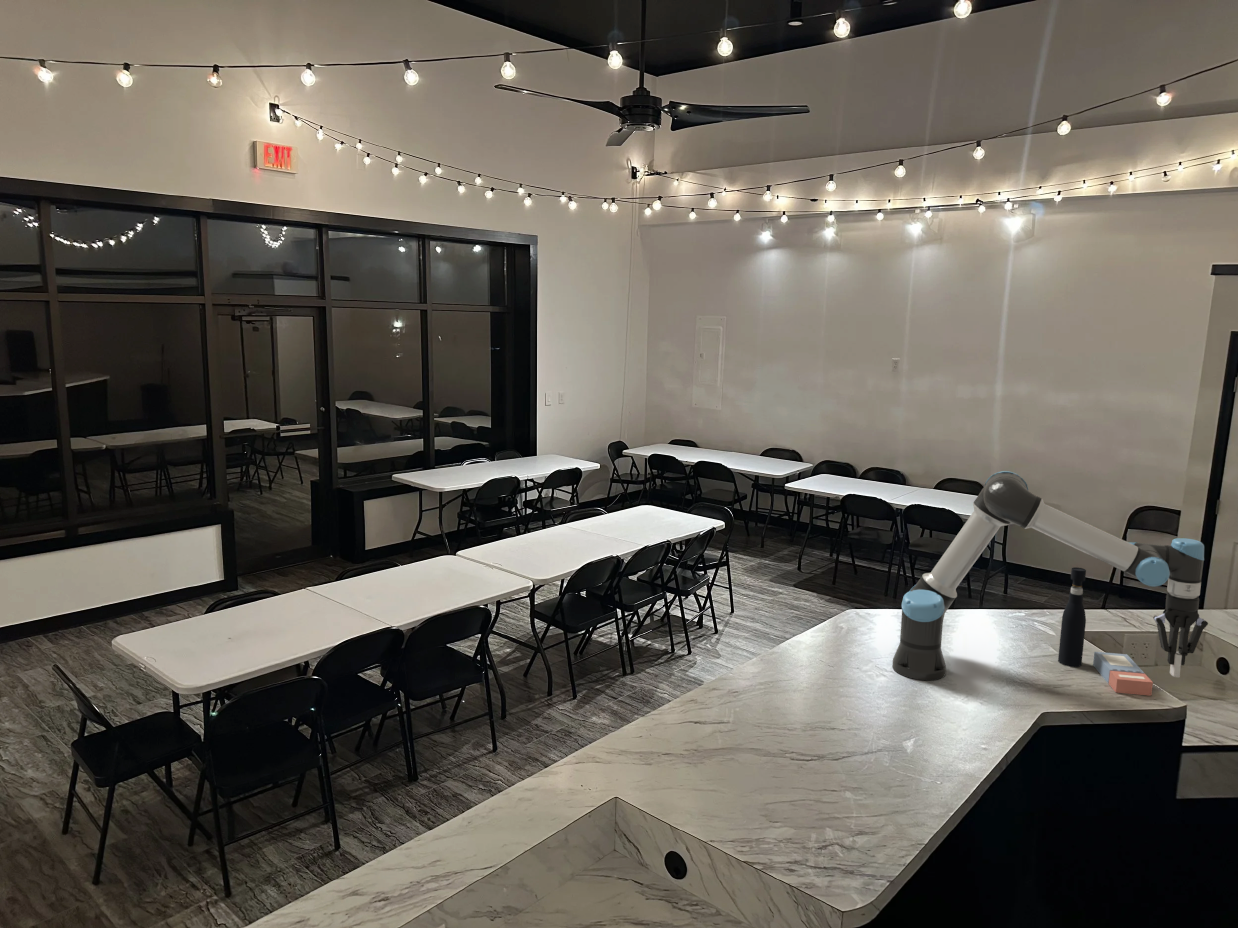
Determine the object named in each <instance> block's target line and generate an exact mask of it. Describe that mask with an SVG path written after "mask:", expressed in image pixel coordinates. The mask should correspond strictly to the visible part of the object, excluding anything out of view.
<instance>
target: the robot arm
mask: <svg viewBox="0 0 1238 928" xmlns="http://www.w3.org/2000/svg"><path fill="white" fill-rule="evenodd" d="M984 483H985V484H984V486H983V488H982V489H981V491H980V492H979V494H978V495H977V497H976V498H975V499H974V501H973V502H972V505H973V509H974V510H973V512H972V513H971V515H970V516H969V517H968V518H967V520H966V522H965V523H964V524H963V526H962V528H961V529H960V531H959V532H958V533H957V535H955V537H954V539H953V540H952V542H951V543H950V545H949V546H948V547H947V549H946V550H945V552H944V553H942V556H941V557H940V559H938V562H937V563H936V564H935V565H934V567H933V568H932V570H931V572H926V573H923V574H922V576H921V577H920V579H918V581H917V583H916V584H914V586H912V587H911V588H910V590H909V591H907V592H906V593H904V595H903V596H902V597H903V598H902V602H901V620H900V635H899V638H900V640H899V644H898V647H897V649H896V652H895V654H894V656H893V658H892V664H891V665H892V666H891V667H892V669H893V670H894V671H895V672H896V673H898V674H899V675H901V676H902V677H903V676H904V677H907V678H910V679H914V680H922V681H935V680H939V679H942V678H944V677H945V676H946V672H947V667H946V661H945V658H944V654H943V651H942V641H943V640H942V639H943V625H944V619H945V614H946V612H947V611H948V609H949V608H950V606H951V605H952V604H953V602H954V601H955V600H956V598H957V597H958V593H957V588H958V587H959V585H960V583H962V581H963V579H964V578H965V577H966V575H967V574H968V573H969V572H970V570H971V569H972V568H973V565H974V564H975V563H976V561H977V560H978V559H979V558H980V556H981V554H982V553H983V552H984V550H985V549H986V548H987V546H988V545H989V543H990V542H991V541H992V539H993V538H994V536H995V535H996V533H998V531H999V529H1000V528H1001V527H1004V526H1008V525H1010V524H1013V525H1016V526H1018V527H1020V528H1022V529H1024V530H1026V529H1027V530H1028V529H1033V530H1035V531H1037V532H1040V533H1042V534H1044V535H1046V536H1047V537H1050V538H1052V539H1054V540H1056V541H1059V542H1061V543H1063V544H1065V545H1067V546H1069V547H1072V548H1073V549H1075V550H1078V551H1080V552H1082V553H1084V554H1086V555H1089V556H1091V557H1093V558H1094V559H1097V560H1099V561H1101V562H1104V563H1105V564H1108V565H1110V566H1111V567H1113V568H1116V569H1118V570H1120V571H1122V572H1125V573H1126V574H1129V575H1131V576H1132V577H1134V578H1136V579H1137V580H1138V581H1139V582H1140V583H1142V584H1143V585H1146V586H1147V587H1153V588H1154V587H1160V586H1162V585H1165V583H1166V582H1167V587H1166V591H1167V593H1166V595H1165V598H1166V599H1165V608H1164V610H1163V611H1162V614H1160V615H1154V616H1153V617H1152V618H1153V620H1154V622H1155V623H1156V627H1157V632H1158V637H1159V643H1160V648H1161V649H1162V650H1163V651H1164V652H1166V653H1167V659H1166V660H1167V663H1168V664H1169V665H1170V666H1169V667H1170V668H1169V674H1170V675H1171V676H1172V677H1173V678H1180V677H1181V669H1182V666H1184V665H1185V663H1186V662H1185V661H1186V657H1187V656H1188V654H1194V653H1195V651H1196V648H1197V645H1198V643H1199V640H1200V638H1201V636H1202V633H1203V631H1204V629H1206V627H1207V626H1208V625H1209V622H1208V621H1207V620H1205V619H1204V618H1202V617H1200V614H1199V607H1200V605H1199V604H1200V598H1199V596H1200V595H1201V586H1202V578H1203V577H1202V576H1203V568H1204V561H1205V544H1204V543H1203V542H1202V541H1199V540H1197V539H1193V538H1185V537H1184V538H1183V537H1182V538H1179V537H1177V538H1174V539H1172V540H1171V543H1170V544H1168V545H1166V544H1153V543H1143V542H1136V541H1134V542H1131V541H1129V542H1128V541H1126V540H1124V539H1121V538H1119V537H1117V536H1115V535H1114V534H1111V533H1109V532H1106V531H1105V530H1103V529H1100V528H1098V527H1096V526H1094V525H1091V524H1090V523H1088V522H1085V521H1083V520H1080V519H1079V518H1076V517H1075V516H1072V515H1070V514H1068V513H1065V512H1063V511H1061V510H1060V509H1057V508H1055V507H1053V506H1050V505H1048V504H1046V503H1045V502H1044V499H1043V498H1042V497H1040V496H1038V495H1036V494H1033V492H1031V491H1029V486H1028V484H1027V482H1026V481H1025V479H1024V478H1023V477H1021V475H1019V474H1017V473H1016V472H1012V471H1008V470H1002V471H997V472H994V473H993V474H991V476H989V477H988V478H987V480H986V481H985V482H984ZM1166 621H1167V622H1168V624H1169V626H1168V627H1169V635H1168V636H1167V630H1166V626H1165V623H1166ZM1193 625H1194V626H1193ZM1191 626H1193V628H1192V631H1191ZM1189 634H1190V635H1189ZM1178 637H1179V639H1178ZM1177 648H1178V649H1177Z"/></svg>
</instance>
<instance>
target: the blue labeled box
mask: <svg viewBox="0 0 1238 928" xmlns="http://www.w3.org/2000/svg"><path fill="white" fill-rule="evenodd" d="M1092 666H1093V667H1094V668H1095V669H1096V671H1097V672H1098V673H1099V674H1100V676H1101V677H1102V678H1103V679H1104V681H1105V682H1106V683H1107V684H1108V685H1109V676H1110V671H1120V672H1131V673H1142V674H1145V672H1144V671H1143V669H1141V668H1140V666H1139V665H1138V664H1137V663H1136V662H1135V661H1134V660H1133V659H1132V658H1131V657H1130V656H1129V655H1128V654H1127V653H1125V654H1124V653H1116V652H1115V653H1114V652H1104V651H1103V652H1102V651H1094V652H1093V661H1092Z"/></svg>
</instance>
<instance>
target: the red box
mask: <svg viewBox="0 0 1238 928" xmlns="http://www.w3.org/2000/svg"><path fill="white" fill-rule="evenodd" d="M1108 685H1109V686H1110V687H1111V688H1112V690H1113V691H1114V692H1115V693H1119V694H1127V695H1138V696H1140V695H1141V696H1147V697H1148V696H1150V697H1151V696H1152V693H1153V685H1154V682H1153V681H1152V679H1151V678H1150V677H1149V676H1147V674H1146V673H1144V674H1142V673H1131V672H1120V671H1110V676H1109V684H1108Z"/></svg>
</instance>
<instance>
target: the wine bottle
mask: <svg viewBox="0 0 1238 928" xmlns="http://www.w3.org/2000/svg"><path fill="white" fill-rule="evenodd" d="M1086 573H1087V569H1085V568H1082V567H1078V566H1077V567H1071V572H1070V580H1072V586H1071V587H1070V592H1069V593H1068V594H1069V595H1068V602H1067V603H1066V605H1065V607H1064V609H1063V612H1062V617H1061V625H1060V626H1061V627H1060V637H1059V638H1060V639H1059V646H1058V647H1059V648H1058V659H1057V662H1058V663H1059V664H1061V665H1063V666H1066V667H1070V668H1073V667H1074V668H1078V667H1081V666H1082V663H1083V654H1084V653H1083V652H1084V645H1085V642H1084V641H1085V634H1086V633H1085V632H1086V623H1087V620H1086V610H1085V607H1084V594H1083V593H1084V590H1083V582H1085V581H1086V577H1087V576H1086Z"/></svg>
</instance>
